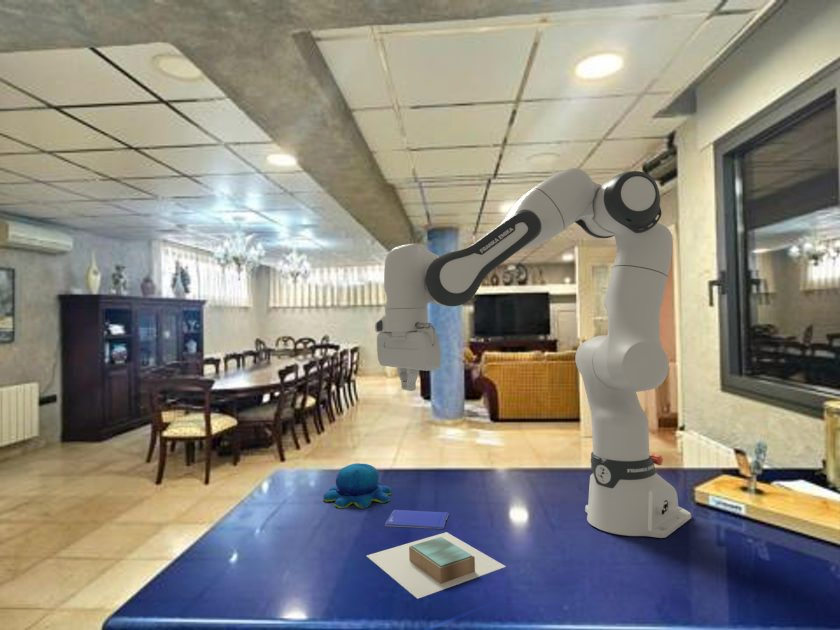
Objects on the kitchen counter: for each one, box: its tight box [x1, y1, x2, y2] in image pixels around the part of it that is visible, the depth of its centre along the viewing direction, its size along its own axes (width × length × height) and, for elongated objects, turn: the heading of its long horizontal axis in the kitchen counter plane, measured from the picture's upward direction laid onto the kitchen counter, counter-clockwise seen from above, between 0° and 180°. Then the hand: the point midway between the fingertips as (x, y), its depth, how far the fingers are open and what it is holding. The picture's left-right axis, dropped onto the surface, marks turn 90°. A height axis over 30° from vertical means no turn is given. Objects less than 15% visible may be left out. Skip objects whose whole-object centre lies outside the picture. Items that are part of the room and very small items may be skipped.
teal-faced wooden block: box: [409, 537, 475, 584], centre depth 90 cm, size 7×3×10 cm
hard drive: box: [384, 509, 450, 530], centre depth 111 cm, size 2×8×12 cm
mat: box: [366, 531, 507, 600], centre depth 92 cm, size 18×18×1 cm
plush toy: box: [323, 462, 393, 509], centre depth 129 cm, size 17×17×8 cm
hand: (408, 390), depth 106 cm, fingers closed
